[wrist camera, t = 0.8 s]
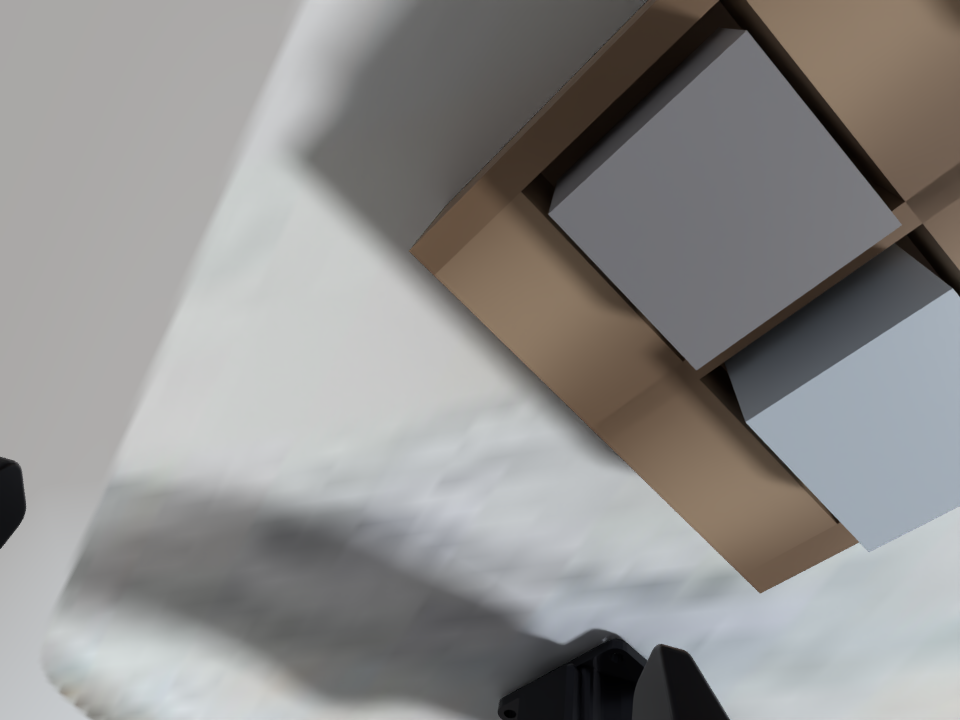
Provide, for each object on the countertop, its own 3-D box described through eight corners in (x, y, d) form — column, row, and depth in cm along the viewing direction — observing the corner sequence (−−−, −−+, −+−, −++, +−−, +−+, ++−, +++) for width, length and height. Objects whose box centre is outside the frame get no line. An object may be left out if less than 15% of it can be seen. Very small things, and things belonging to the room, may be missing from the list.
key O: (848, 186, 15) (902, 224, 12) (681, 313, 17) (696, 370, 14) (718, 27, 14) (746, 30, 11) (557, 180, 16) (548, 214, 13)
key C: (999, 374, 16) (1078, 445, 13) (829, 472, 18) (868, 552, 15) (891, 240, 15) (952, 288, 12) (722, 358, 17) (745, 422, 14)
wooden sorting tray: (1520, 34, 14) (1829, 40, 10) (734, 500, 22) (760, 593, 18) (1219, -583, 11) (1503, -857, 8) (444, 207, 19) (408, 251, 16)
